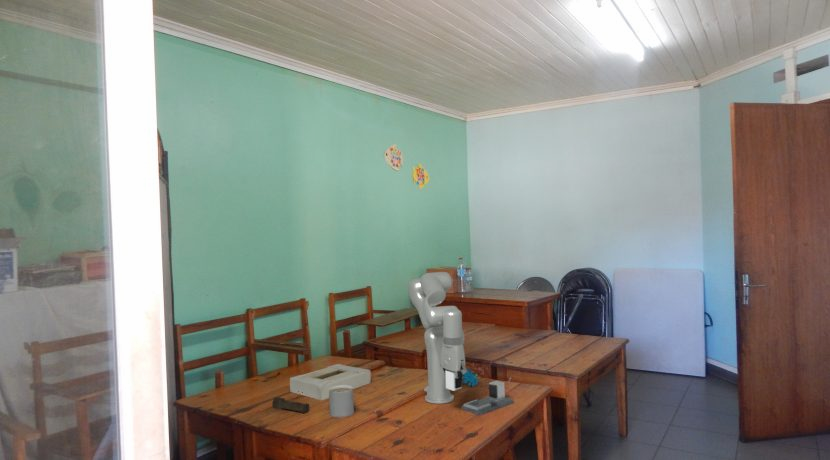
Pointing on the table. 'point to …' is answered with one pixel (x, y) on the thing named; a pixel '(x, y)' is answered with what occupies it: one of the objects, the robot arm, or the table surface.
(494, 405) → the rail
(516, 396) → the table surface
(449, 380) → the block
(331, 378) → the box
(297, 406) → the hand tool
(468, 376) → the gear
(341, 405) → the coffee mug
